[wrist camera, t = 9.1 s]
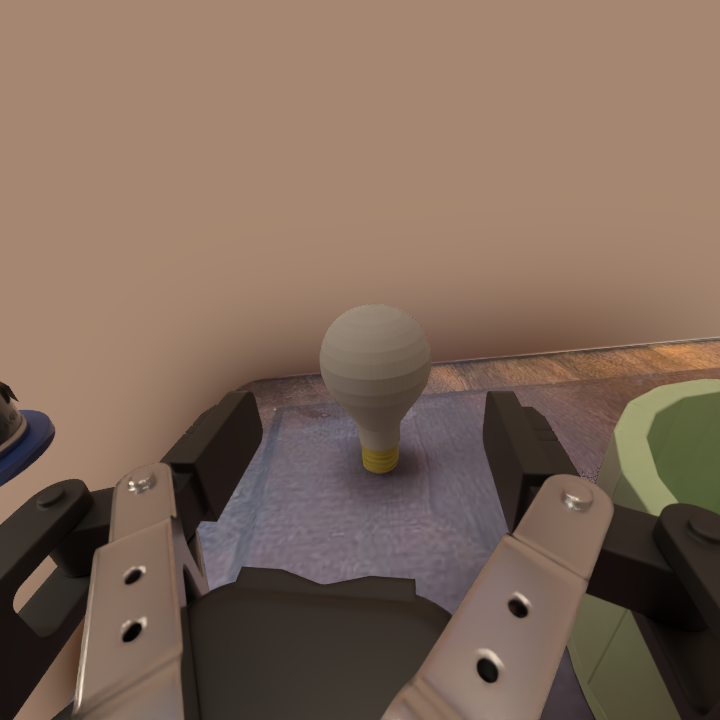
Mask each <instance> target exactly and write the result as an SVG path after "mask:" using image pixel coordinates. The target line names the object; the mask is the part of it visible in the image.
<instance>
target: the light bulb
mask: <svg viewBox="0 0 720 720" xmlns="http://www.w3.org/2000/svg"><path fill="white" fill-rule="evenodd" d="M320 366H321V375H322V377H323V380H324V382H325V385H326V387H327V390H328V391H329V393H330V394H331V395H332V396H333V398H334V399H335V400H336V401H337V403H338V404H339V405H340V406H341V407H342V408H343V409H344V410H345V411H346V412H347V413H348V414H349V415H350V416H351V417H352V418H353V420H354V421H355V422H356V423H357V425H358V428H359V439H360V442H361V447H362V462H363V465H364V467H365V468H366V469H367V470H368V471H370V472H373V473H379V474H380V473H386V472H389V471H391V470H392V469H394V468H395V467H396V465H397V463H398V457H399V455H398V442H399V440H400V423H401V420H402V419H403V417H404V416H405V415H406V413H407V412H408V410H409V409H410V408H411V407H412V405H413V404H414V403H415V402H416V400H417V399H418V398H419V396H420V394H421V393H422V391H423V390H424V388H425V387H426V384H427V381H428V378H429V374H430V370H431V349H430V346H429V343H428V340H427V337H426V335H425V333H424V331H423V330H422V328H421V326H420V325H419V324H418V323H417V322H416V321H415V320H414V319H413V317H411V316H410V315H409V314H407V313H406V312H404V311H402V310H400V309H398V308H396V307H393V306H389V305H381V304H368V305H364V306H360V307H356V308H353V309H351V310H349V311H347V312H346V313H344V314H343V315H341V316H340V317H338V318H337V319H336V320H335V321H334V323H333V324H332V325H331V327H330V328H329V329H328V331H327V333H326V335H325V337H324V340H323V342H322V347H321V352H320Z"/></svg>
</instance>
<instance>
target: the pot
mask: <svg viewBox="0 0 720 720" xmlns="http://www.w3.org/2000/svg"><path fill="white" fill-rule="evenodd" d="M595 484H596V485H597V486H598V487H600V488H601V489H602V490H603V491H604V492H605V493H606V494H607V495H608V496H609V497H610V499H611V501H612V503H614V504H617V505H619V506H623V507H626V508H629V509H633V510H637V511H641V512H644V513H648V514H652V515H656V516H659V515H660V513H661V511H662V509H663V508H664V507H666V506H667V505H670V504H675V503H684V504H691V505H695V506H699V507H702V508H705V509H708V510H710V511H712V512H715V513H717V514H719V515H720V379H700V380H693V381H687V382H681V383H674V384H668V385H662V386H660V387H657V388H655V389H653V390H651V391H649V392H647V393H645V394H643V395H641V396H639V397H638V398H636V399H634V400H632V401H630V402H629V403H628V404H627V405H626V407H625V409H624V411H623V413H622V415H621V416H620V418H619V420H618V422H617V424H616V426H615V428H614V430H613V433H612V436H611V439H610V441H609V444H608V447H607V450H606V453H605V456H604V459H603V462H602V465H601V468H600V471H599V474H598V476H597V479H596V482H595ZM567 647H568V651H569V654H570V658H571V661H572V664H573V668H574V671H575V673H576V676H577V678H578V681H579V683H580V686H581V688H582V691H583V693H584V696H585V698H586V701H587V703H588V705H589V707H590V709H591V711H592V713H593V715H594V717H595V719H596V720H681V718H680V716H679V714H678V712H677V709H676V707H675V705H674V703H673V701H672V699H671V697H670V694H669V692H668V690H667V688H666V686H665V684H664V682H663V679H662V677H661V675H660V673H659V671H658V669H657V667H656V664H655V662H654V660H653V658H652V656H651V654H650V652H649V649H648V647H647V645H646V643H645V641H644V639H643V637H642V635H641V632H640V630H639V628H638V626H637V624H636V622H635V620H634V617H633V615H632V613H631V611H630V610H629V609H626V608H624V607H621V606H618V605H615V604H613V603H610V602H607V601H605V600H602V599H599V598H597V597H594V596H591V595H588V594H586V593H585V595H584V597H583V600H582V603H581V606H580V608H579V611H578V614H577V617H576V619H575V622H574V625H573V628H572V631H571V633H570V636H569V639H568V642H567Z"/></svg>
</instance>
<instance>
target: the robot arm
mask: <svg viewBox="0 0 720 720" xmlns="http://www.w3.org/2000/svg"><path fill="white" fill-rule="evenodd" d="M10 397H11V398H13V399H15V400H16V401H18V400H17V398H16V397H15V395H14V394H13V392H12V391H11V389H10V387H9V386H7V385H6V384H4V383H2V382H0V460H1V459H3V458H4V457H5V456H7V455H8V454H9V453H11V452H12V451H13V450H14V449H15V448H16V447H18V446H19V445H20V444H21V443H22V442H23V440H24V439H25V438H26V436H27V435H28V433H29V430H30V425H29V423H28V421H27V420H26V418H25V417H24V415H23V414H22V413H20V412H19V411H18V410H17V408H16V406H15V405H14V403H13V402H12V400H11V399H10ZM262 435H263V428H262V423H261V419H260V416H259V412H258V408H257V404H256V400H255V396H254V394H253V393H252V392H250V391H231V392H228V393H227V394H226V395H225V397H224V398H223V399H222V400H221V401H220V403H219V404H218V405H215V406H213V407H212V408H210V409H209V410H207V411H206V412H204V413H202V414H201V415H200V417H199V418H198V419H197V420H196V421H195V422H194V424H193V426H191V427H190V428H189V429H188V430H187V431H186V434H184V435H183V436H182V437H181V438H180V439H179V440H178V441H177V443H176V444H175V445H174V446H173V447H172V448H171V449H170V450H169V452H168V453H167V454H166V455H165V456H164V457H163V458H162V460H161V461H160V462H159V463H151V464H147V465H144V466H141V467H139V468H137V469H135V470H133V471H131V472H130V473H128V474H127V475H125V476H124V477H123V478H122V479H121V480H120V481H119V482H118V483H117V485H116V486H115V487H112V488H107V489H102V490H98V491H93V492H89V490H88V488H87V487H86V485H85V483H84V482H83V481H81V480H79V479H69V480H65V481H61V482H58V483H55V484H53V485H51V486H49V487H47V488H45V489H43V490H42V491H40V492H38V493H37V494H35V495H34V496H33V497H31V498H30V499H29V500H28V501H27V502H26V503H24V504H23V505H22V506H21V507H20V508H19V509H18V510H17V511H15V512H14V513H13V514H12V515H11V516H10V517H9V518H8V519H6V520H5V521H4V522H3V523H2V524H1V525H0V720H13V719H14V717H15V716H16V714H17V713H18V712H19V710H20V709H21V707H22V706H23V704H24V703H25V701H26V700H27V699H28V697H29V696H30V694H31V693H32V691H33V690H34V688H35V687H36V686H37V684H38V683H39V681H40V680H41V678H42V677H43V675H44V674H45V673H46V671H47V670H48V668H49V667H50V665H51V664H52V662H53V661H54V660H55V658H56V657H57V655H58V654H59V652H60V651H61V649H62V648H63V646H64V645H65V643H66V642H67V641H68V639H69V638H70V636H71V635H72V633H73V632H74V630H75V629H76V628H77V626H78V625H79V623H80V622H81V620H82V619H83V617H84V616H85V615H86V618H85V626H84V633H83V641H82V648H81V656H80V663H79V671H78V678H77V685H76V693H75V700H74V701H73V702H71V703H70V704H69V705H68V706H67V707H65V708H64V709H63V710H62V711H61V712H59V713H58V714H57V715H56V716H55V717H54V718H52V719H51V720H539V719H540V716H541V714H542V711H543V708H544V705H545V703H546V700H547V697H548V694H549V691H550V689H551V686H552V683H553V680H554V678H555V675H556V672H557V669H558V667H559V664H560V661H561V658H562V655H563V653H564V650H565V647H566V644H567V642H568V639H569V636H570V633H571V631H572V628H573V625H574V622H575V619H576V617H577V614H578V611H579V608H580V606H581V603H582V600H583V597H584V595H585V593H586V594H588V595H591V596H594V597H597V598H599V599H602V600H605V601H607V602H610V603H613V604H615V605H618V606H621V607H624V608H626V609H629V610H630V611H631V613H632V615H633V617H634V620H635V622H636V624H637V626H638V628H639V630H640V632H641V635H642V637H643V639H644V641H645V643H646V645H647V647H648V649H649V652H650V654H651V656H652V658H653V660H654V662H655V664H656V667H657V669H658V671H659V673H660V675H661V677H662V679H663V682H664V684H665V686H666V688H667V690H668V692H669V694H670V697H671V699H672V701H673V703H674V705H675V707H676V709H677V712H678V714H679V716H680V718H681V720H720V515H719V514H717V513H715V512H712V511H710V510H708V509H705V508H702V507H699V506H695V505H691V504H684V503H675V504H670V505H667V506H666V507H664V508H663V509H662V511H661V513H660V515H659V516H656V515H652V514H648V513H644V512H641V511H637V510H633V509H629V508H626V507H623V506H619V505H617V504H614V503H612V501H611V499H610V497H609V496H608V495H607V494H606V493H605V492H604V491H603V490H602V489H601V488H600V487H598V486H597V485H596V484H594V483H592V482H590V481H588V480H586V479H584V478H581V477H580V475H579V473H578V472H577V470H576V468H575V467H574V465H573V463H572V462H571V460H570V458H569V457H568V455H567V453H566V452H565V450H564V448H563V446H562V445H561V443H560V441H558V438H557V436H556V435H555V433H554V431H552V428H551V426H550V425H549V423H548V421H547V420H546V418H545V417H544V416H543V415H542V414H540V413H539V412H538V411H536V410H535V409H534V408H533V407H522V406H521V405H520V403H519V401H518V399H517V397H516V395H515V393H514V392H513V391H488V393H487V397H486V406H485V415H484V425H483V443H484V449H485V452H486V456H487V459H488V462H489V466H490V469H491V472H492V476H493V479H494V483H495V486H496V489H497V493H498V496H499V499H500V503H501V506H502V509H503V513H504V516H505V520H506V523H507V526H508V530H509V533H510V534H509V533H506V534H505V535H504V536H503V537H502V539H501V540H500V542H499V543H498V545H497V547H496V548H495V550H494V551H493V553H492V554H491V556H490V558H489V559H488V561H487V562H486V564H485V566H484V567H483V569H482V570H481V572H480V574H479V575H478V577H477V578H476V580H475V582H474V583H473V585H472V586H471V588H470V589H469V591H468V593H467V594H466V596H465V597H464V599H463V601H462V602H461V604H460V605H459V607H458V609H457V610H456V612H455V613H454V615H453V616H452V615H451V614H450V613H449V612H448V611H446V610H445V609H443V608H442V607H440V606H439V605H437V604H436V603H434V602H432V601H430V600H428V599H426V598H424V597H421V596H419V595H416V586H415V579H406V578H392V577H378V576H368V577H362V578H357V579H352V580H347V581H342V582H337V583H332V584H325V585H324V584H319V583H316V582H313V581H311V580H308V579H306V578H303V577H300V576H298V575H295V574H293V573H290V572H287V571H285V570H282V569H268V568H254V567H242V568H241V570H240V572H239V575H238V577H237V580H236V582H233V583H229V584H226V585H223V586H220V587H218V588H216V589H214V590H211V591H210V590H209V586H208V580H207V575H206V569H205V564H204V558H203V553H202V547H201V542H200V536H199V533H198V531H197V527H198V526H199V524H200V522H201V521H212V522H217V521H218V519H219V517H220V515H221V514H222V512H223V510H224V508H225V506H226V505H227V503H228V501H229V499H230V497H231V496H232V494H233V492H234V490H235V488H236V487H237V485H238V483H239V481H240V479H241V478H242V476H243V474H244V472H245V470H246V469H247V467H248V465H249V463H250V462H251V460H252V458H253V456H254V454H255V453H256V451H257V449H258V447H259V445H260V443H261V440H262ZM48 555H49V556H50V557H51V558H52V559H53V561H54V562H55V563H56V565H57V566H58V567H57V568H56V569H55V570H54V571H53V573H52V574H51V575H50V576H49V577H48V578H47V580H46V581H45V582H44V583H43V584H42V585H41V587H40V588H39V589H38V590H37V591H36V592H35V594H34V595H33V596H32V597H31V598H30V600H29V601H28V602H27V603H26V604H25V605H24V607H23V608H22V609H21V610H20V611H19V613H18V614H17V613H16V612H15V611H14V608H13V600H14V596H15V594H16V592H17V590H18V589H19V587H20V586H21V585H22V583H23V582H24V581H25V580H26V579H27V578H28V577H29V576H30V575H31V574H32V573H33V571H34V570H35V569H36V568H37V567H38V566H39V565H40V563H42V561H43V560H44V559H45V558H46V557H47V556H48Z"/></svg>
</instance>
